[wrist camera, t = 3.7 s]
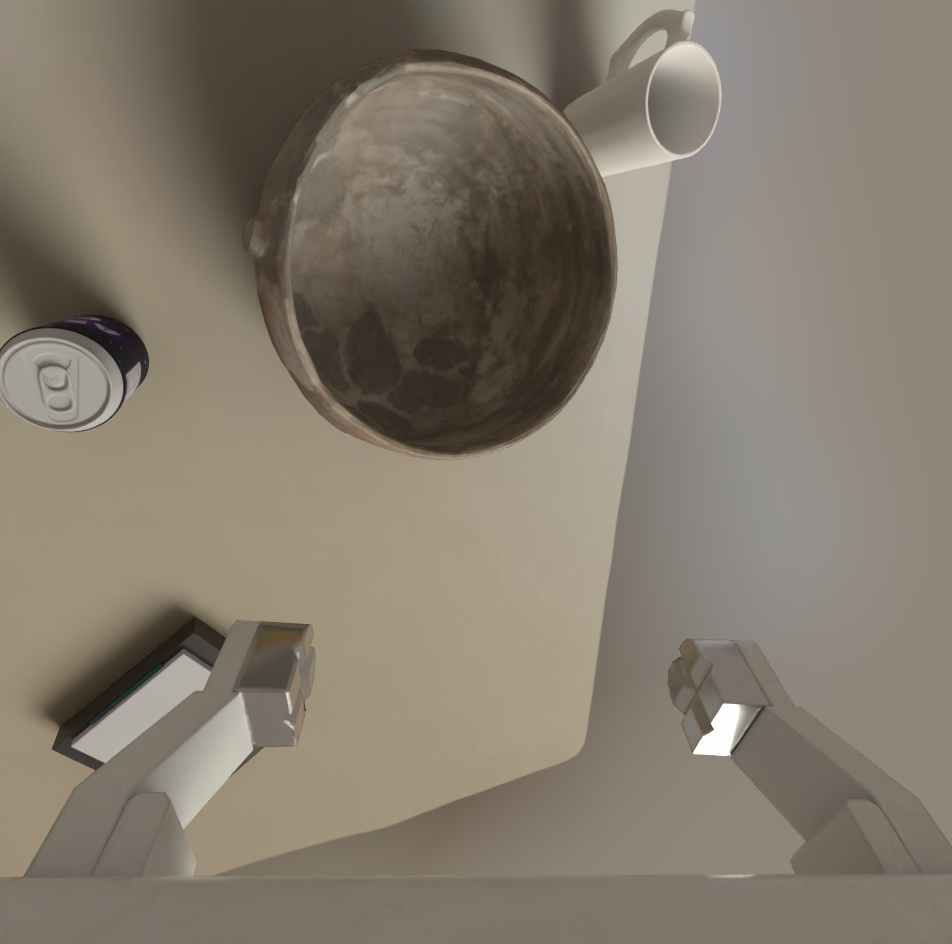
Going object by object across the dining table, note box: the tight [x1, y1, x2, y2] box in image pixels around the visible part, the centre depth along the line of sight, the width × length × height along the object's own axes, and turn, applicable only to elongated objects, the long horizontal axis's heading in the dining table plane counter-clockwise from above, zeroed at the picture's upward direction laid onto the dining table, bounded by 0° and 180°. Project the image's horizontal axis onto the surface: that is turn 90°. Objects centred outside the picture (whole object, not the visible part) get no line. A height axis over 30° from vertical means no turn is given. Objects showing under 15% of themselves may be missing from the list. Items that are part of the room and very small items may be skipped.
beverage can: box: [0, 315, 149, 432], centre depth 32 cm, size 6×6×12 cm
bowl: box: [243, 49, 618, 460], centre depth 37 cm, size 24×24×15 cm
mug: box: [563, 10, 721, 177], centre depth 41 cm, size 10×7×12 cm, turn 173°
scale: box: [52, 617, 306, 775], centre depth 47 cm, size 14×14×3 cm
